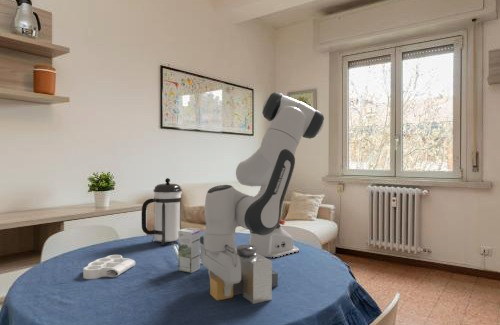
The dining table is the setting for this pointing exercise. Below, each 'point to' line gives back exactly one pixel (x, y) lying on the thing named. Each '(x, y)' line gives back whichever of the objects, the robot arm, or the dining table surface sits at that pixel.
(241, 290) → the grey and tan bar
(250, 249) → the grey bridge block
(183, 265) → the syrup box
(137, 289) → the dining table surface
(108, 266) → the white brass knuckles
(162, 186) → the coffee press
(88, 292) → the dining table surface
